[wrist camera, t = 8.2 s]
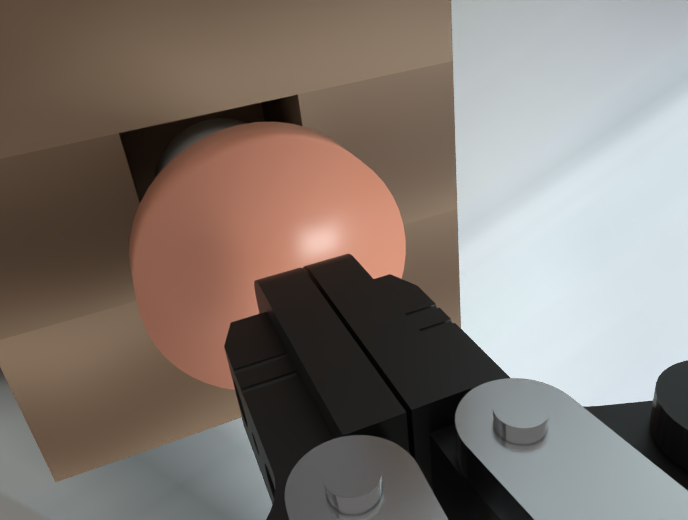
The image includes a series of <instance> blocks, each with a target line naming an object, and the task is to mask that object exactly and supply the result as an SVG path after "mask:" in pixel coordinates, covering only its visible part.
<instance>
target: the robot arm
mask: <svg viewBox="0 0 688 520" xmlns="http://www.w3.org/2000/svg"><path fill="white" fill-rule="evenodd" d="M254 288H255V295H256V300H257V304H258V309H259V314H257V315H254V316H250V317H247V318H244V319H240V320H237V321H234V322H231V323H230V327H229V330H228V334H227V338H226V341H225V345H224V348H225V352H226V356H227V360H228V364H229V368H230V372H231V376H232V380H233V384H234V388H235V392H236V396H237V400H238V404H239V408H240V412H241V416H242V420H243V424H244V427H245V430H246V433H247V435H248V438H249V441H250V444H251V446H252V449H253V451H254V454H255V457H256V460H257V463H258V465H259V468H260V471H261V473H262V476H263V479H264V482H265V485H266V487H267V490H268V493H269V495H270V498H271V501H272V504H273V505H272V508H271V511H270V513H269V515H268V517H267V519H266V520H688V361H684V362H680V363H677V364H675V365H672V366H670V367H669V368H667V369H666V370H665V371H663V372H662V374H661V375H660V376H659V378H658V380H657V382H656V387H655V393H654V399H653V401H645V402H635V403H625V404H615V405H605V406H591V407H583V406H581V405H580V404H579V403H578V402H576V401H575V400H574V399H573V398H571V397H570V396H569V395H567V394H566V393H564V392H563V391H561V390H559V389H557V388H555V387H553V386H551V385H548V384H545V383H543V382H539V381H535V380H529V379H522V378H510V377H509V376H508V375H507V374H506V373H505V372H504V371H503V370H502V369H501V368H500V367H499V366H498V365H497V364H496V363H495V362H494V361H493V360H492V359H491V358H490V357H489V356H488V355H487V354H486V353H485V352H484V351H483V350H482V349H481V348H480V347H479V346H478V345H477V344H476V343H475V342H474V341H473V340H472V339H471V338H470V337H469V336H468V335H467V334H466V333H465V332H464V331H463V330H462V329H461V328H460V327H459V326H458V325H457V324H456V323H452V321H451V318H450V317H449V316H448V315H447V314H446V313H445V312H444V311H443V310H442V309H441V308H440V307H439V308H437V307H436V303H435V302H434V301H433V300H432V299H431V298H430V297H429V296H428V295H427V294H426V293H425V292H424V291H422V290H421V289H420V288H419V287H418V286H417V285H415V284H412V283H410V282H408V281H405V280H403V279H401V278H398V277H396V276H393V275H391V274H389V275H385V276H382V277H379V278H376V279H373V278H372V277H371V276H370V274H369V273H368V272H367V271H366V270H365V269H364V268H363V267H362V265H361V264H360V263H359V262H358V261H357V260H356V259H355V258H354V257H353V256H352V255H351V254H345V255H341V256H338V257H334V258H331V259H327V260H324V261H320V262H317V263H313V264H310V265H306V266H304V267H303V268H301V267H300V268H296V269H293V270H290V271H286V272H283V273H279V274H276V275H272V276H269V277H265V278H262V279H258V280H255V281H254Z"/></svg>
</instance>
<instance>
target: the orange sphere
mask: <svg viewBox="0 0 688 520" xmlns="http://www.w3.org/2000/svg"><path fill="white" fill-rule="evenodd" d="M345 254H351V255H352V256H353V257H354V258H355V259H356V260H357V261H358V262H359V263H360V264H361V265H362V267H363V268H364V269H365V270H366V271H367V272H368V273H369V274H370V276H371V277H372V278H373V279H376V278H379V277H382V276H385V275H389V274H391V275H393V276H396V277H398V278H401V279H402V275H403V271H404V264H405V256H406V239H405V232H404V225H403V221H402V218H401V214H400V211H399V208H398V206H397V204H396V202H395V200H394V198H393V195H392V194H391V192H390V191H389V189H388V188H387V186H386V185H385V183H384V182H383V181H382V180H381V179H380V178H379V177H378V175H377V174H376V173H375V172H374V171H373V170H372V169H370V168H369V167H368V166H367V165H365V164H364V163H363V162H362V161H361V160H359V159H358V158H357V157H355V156H354V155H353V154H351V153H350V152H349V151H347V150H346V149H345V148H344V147H342V146H341V145H340V144H338V143H337V142H336V141H334V140H332V139H330V138H329V137H327V136H325V135H324V134H322V133H319V132H317V131H314V130H312V129H310V128H307V127H303V126H299V125H295V124H291V123H282V122H254V123H245V122H243V121H239V120H235V119H228V118H216V119H209V120H205V121H201V122H198V123H196V124H194V125H191V126H189V127H188V128H186V129H184V130H183V131H182V132H180V133H179V134H178V135H177V136H175V137H174V138H173V140H172V141H171V142H170V143H169V144H168V145H167V147H166V148H165V150H164V151H163V153H162V155H161V157H160V159H159V162H158V165H157V169H156V173H155V179H154V181H153V182H152V183H151V185H150V186H149V188H148V189H147V191H146V193H145V195H144V197H143V199H142V200H141V202H140V204H139V207H138V210H137V212H136V215H135V218H134V221H133V225H132V230H131V235H130V245H129V260H130V270H131V275H132V280H133V286H134V291H135V296H136V301H137V305H138V309H139V313H140V317H141V319H142V322H143V324H144V327H145V329H146V331H147V333H148V335H149V336H150V338H151V340H152V341H153V343H154V344H155V346H156V347H157V348H158V349H159V351H160V352H161V353H162V354H163V355H164V356H165V358H166V359H168V360H169V361H170V362H171V363H172V364H173V365H175V366H176V367H177V368H178V369H180V370H181V371H183V372H185V373H186V374H188V375H189V376H191V377H193V378H195V379H198V380H200V381H202V382H204V383H207V384H210V385H214V386H217V387H220V388H226V389H232V390H235V388H234V384H233V380H232V376H231V372H230V368H229V364H228V360H227V356H226V352H225V348H224V345H225V341H226V338H227V334H228V330H229V327H230V323H231V322H234V321H237V320H240V319H244V318H247V317H250V316H254V315H257V314H259V309H258V304H257V300H256V295H255V288H254V281H255V280H258V279H262V278H265V277H269V276H272V275H276V274H279V273H283V272H286V271H290V270H293V269H296V268H300V267H301V268H303V267H304V266H306V265H310V264H313V263H317V262H320V261H324V260H327V259H331V258H334V257H338V256H341V255H345Z"/></svg>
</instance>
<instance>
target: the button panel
mask: <svg viewBox="0 0 688 520" xmlns="http://www.w3.org/2000/svg"><path fill="white" fill-rule="evenodd" d="M216 118H228V119H235V120H239V121H243V122H245V123H254V122H282V123H291V124H295V125H299V126H303V127H307V128H310V129H312V130H314V131H317V132H319V133H322V134H324V135H325V136H327V137H329V138H330V139H332V140H334V141H336V142H337V143H338V144H340V145H341V146H342V147H344V148H345V149H346V150H347V151H349V152H350V153H351V154H353V155H354V156H355V157H357V158H358V159H359V160H361V161H362V162H363V163H364V164H365V165H367V166H368V167H369V168H370V169H372V170H373V171H374V172H375V173H376V174H377V175H378V177H379V178H380V179H381V180H382V181H383V182H384V183H385V185H386V186H387V188H388V189H389V191H390V192H391V194H392V195H393V198H394V200H395V202H396V204H397V206H398V208H399V211H400V214H401V218H402V221H403V225H404V232H405V239H406V256H405V264H404V271H403V275H402V279H403V280H405V281H408V282H410V283H412V284H415V285H417V286H418V287H419V288H420V289H421V290H422V291H424V292H425V293H426V294H427V295H428V296H429V297H430V298H431V299H432V300H433V301H434V302H435V303H436V307H437V308H439V307H440V308H441V309H442V310H443V311H444V312H445V313H446V314H447V315H448V316H449V317H450V318H451V321H452V323H456V324H457V325H458V326H459V327H460V328H461V319H460V286H459V253H458V220H457V187H456V154H455V122H454V89H453V56H452V23H451V0H0V368H1V370H2V372H3V374H4V376H5V378H6V380H7V382H8V384H9V386H10V389H11V391H12V393H13V395H14V397H15V399H16V401H17V403H18V405H19V407H20V409H21V411H22V413H23V415H24V418H25V420H26V422H27V424H28V426H29V428H30V430H31V432H32V434H33V436H34V438H35V440H36V442H37V444H38V447H39V449H40V451H41V453H42V455H43V457H44V459H45V461H46V463H47V465H48V467H49V469H50V471H51V473H52V476H53V478H54V480H55V482H57V481H60V480H63V479H66V478H69V477H72V476H75V475H78V474H80V473H83V472H86V471H89V470H92V469H95V468H98V467H100V466H103V465H106V464H109V463H112V462H115V461H118V460H121V459H123V458H126V457H129V456H132V455H135V454H138V453H141V452H143V451H146V450H149V449H152V448H155V447H158V446H161V445H163V444H166V443H169V442H172V441H175V440H178V439H181V438H184V437H186V436H189V435H192V434H195V433H198V432H201V431H204V430H206V429H209V428H212V427H215V426H218V425H221V424H224V423H227V422H229V421H232V420H235V419H238V418H241V417H242V416H241V412H240V408H239V404H238V400H237V396H236V392H235V390H232V389H226V388H220V387H217V386H214V385H210V384H207V383H204V382H202V381H200V380H198V379H195V378H193V377H191V376H189V375H188V374H186V373H185V372H183V371H181V370H180V369H178V368H177V367H176V366H175V365H173V364H172V363H171V362H170V361H169V360H168V359H166V358H165V356H164V355H163V354H162V353H161V352H160V351H159V349H158V348H157V347H156V346H155V344H154V343H153V341H152V340H151V338H150V336H149V335H148V333H147V331H146V329H145V327H144V324H143V322H142V319H141V317H140V313H139V309H138V305H137V301H136V296H135V291H134V286H133V280H132V275H131V270H130V260H129V245H130V235H131V230H132V225H133V221H134V218H135V215H136V212H137V210H138V207H139V204H140V202H141V200H142V199H143V197H144V195H145V193H146V191H147V189H148V188H149V186H150V185H151V183H152V182H153V181H154V179H155V173H156V169H157V165H158V162H159V159H160V157H161V155H162V153H163V151H164V150H165V148H166V147H167V145H168V144H169V143H170V142H171V141H172V140H173V138H174V137H175V136H177V135H178V134H179V133H180V132H182V131H183V130H184V129H186V128H188V127H189V126H191V125H194V124H196V123H198V122H201V121H205V120H209V119H216Z"/></svg>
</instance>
